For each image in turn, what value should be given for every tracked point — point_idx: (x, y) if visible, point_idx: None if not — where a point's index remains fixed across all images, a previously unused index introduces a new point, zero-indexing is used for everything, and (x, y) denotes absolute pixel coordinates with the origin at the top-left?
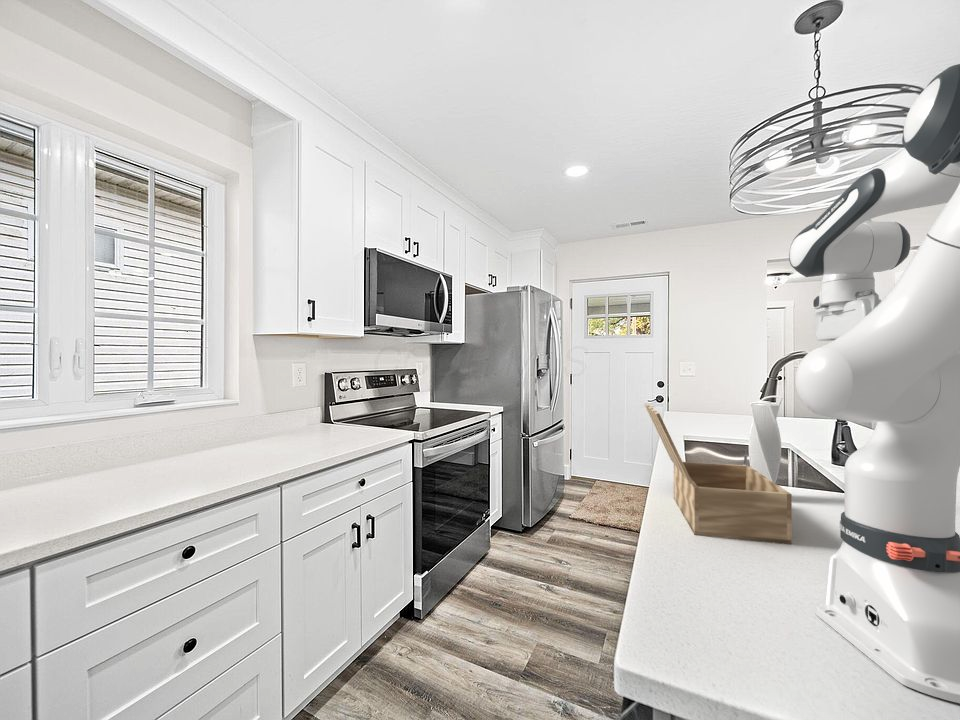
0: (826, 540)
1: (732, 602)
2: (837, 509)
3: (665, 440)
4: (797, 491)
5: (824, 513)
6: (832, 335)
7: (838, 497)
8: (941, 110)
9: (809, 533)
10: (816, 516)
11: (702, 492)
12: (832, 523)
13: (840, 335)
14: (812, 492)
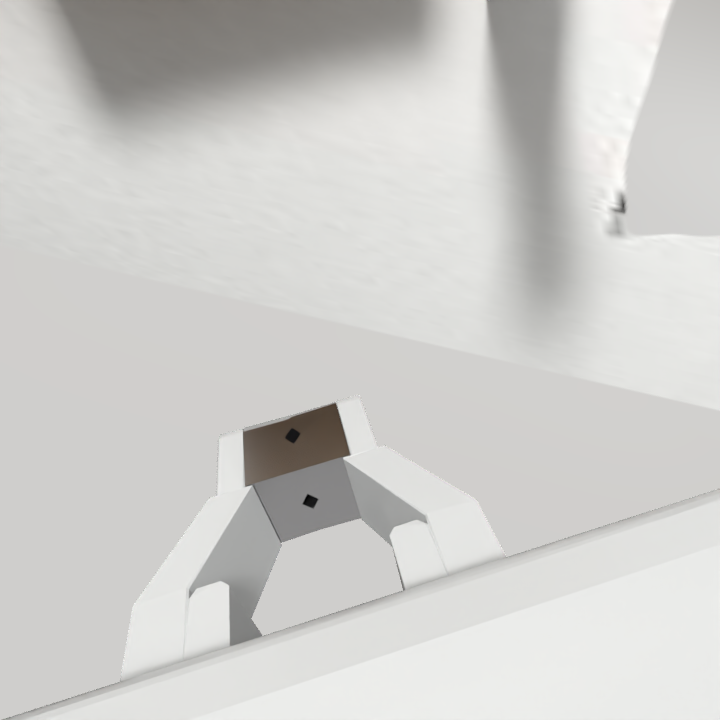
0: (147, 61)
1: None
2: (458, 157)
3: None
4: (613, 85)
5: (406, 114)
6: (498, 616)
7: (572, 185)
8: None
9: (183, 25)
10: (367, 85)
11: None
12: (320, 115)
13: (196, 695)
14: (609, 128)
